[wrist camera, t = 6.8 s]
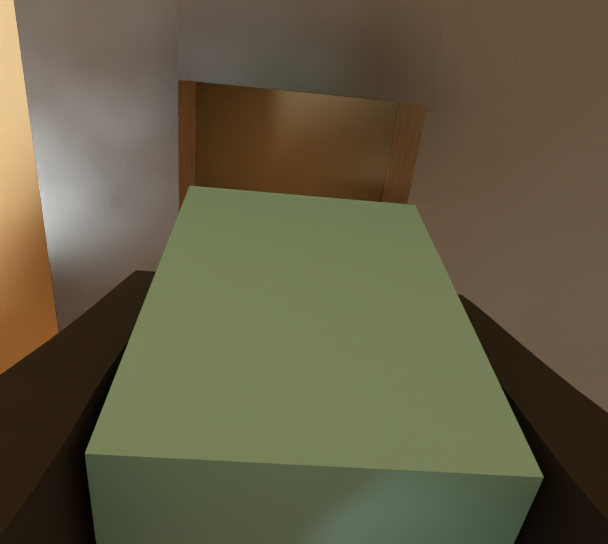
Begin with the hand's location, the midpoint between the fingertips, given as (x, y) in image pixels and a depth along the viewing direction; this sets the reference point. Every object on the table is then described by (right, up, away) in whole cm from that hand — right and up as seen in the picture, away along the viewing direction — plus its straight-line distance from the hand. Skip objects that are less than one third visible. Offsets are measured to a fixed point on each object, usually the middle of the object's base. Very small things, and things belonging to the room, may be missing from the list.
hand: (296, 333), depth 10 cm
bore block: (+3, +4, +7) cm, 9 cm away
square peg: (0, +1, +2) cm, 2 cm away
